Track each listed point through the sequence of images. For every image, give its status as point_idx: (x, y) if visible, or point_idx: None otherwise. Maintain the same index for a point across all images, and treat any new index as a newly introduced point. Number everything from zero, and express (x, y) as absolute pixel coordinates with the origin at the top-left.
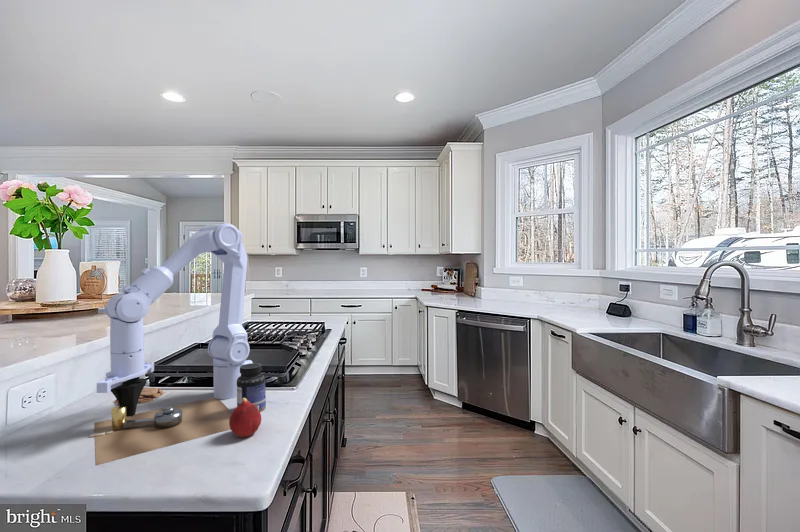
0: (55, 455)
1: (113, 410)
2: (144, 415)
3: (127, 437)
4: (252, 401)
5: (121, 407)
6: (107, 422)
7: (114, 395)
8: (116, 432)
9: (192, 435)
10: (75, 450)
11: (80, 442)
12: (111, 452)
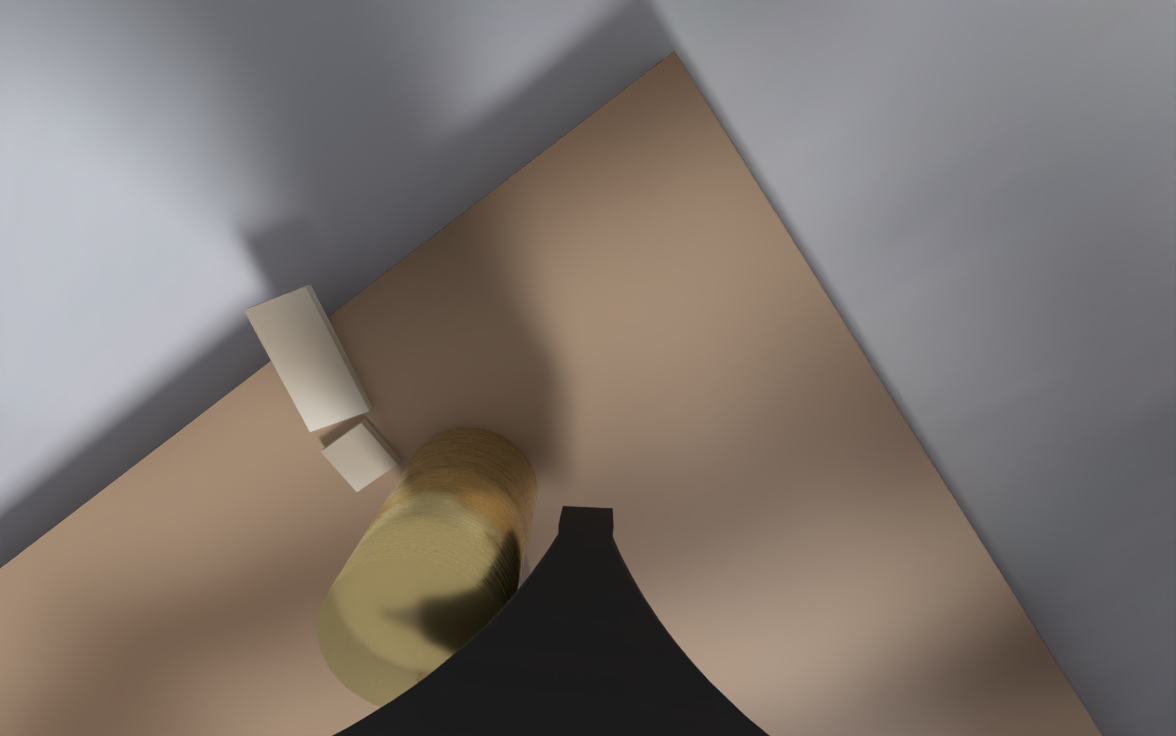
0: (3, 156)
1: (324, 607)
2: (824, 537)
3: (282, 659)
4: None
5: (415, 668)
6: (658, 235)
7: (412, 689)
8: (380, 508)
9: None
10: (121, 278)
11: (281, 195)
12: (21, 687)
